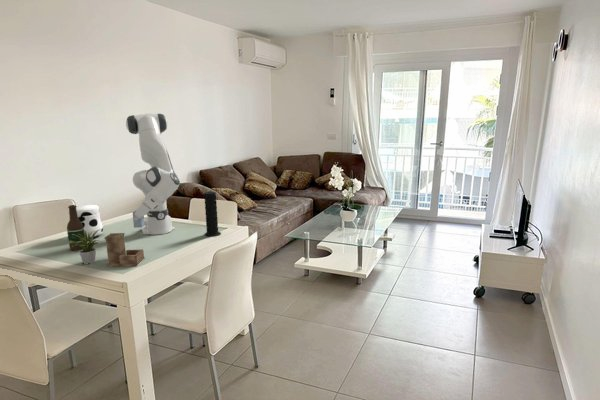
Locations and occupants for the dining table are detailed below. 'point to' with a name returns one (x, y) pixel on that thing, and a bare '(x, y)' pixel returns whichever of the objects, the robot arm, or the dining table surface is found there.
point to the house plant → (86, 247)
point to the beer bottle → (74, 228)
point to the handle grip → (211, 214)
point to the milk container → (90, 219)
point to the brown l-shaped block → (121, 251)
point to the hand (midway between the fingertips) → (137, 218)
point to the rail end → (138, 221)
